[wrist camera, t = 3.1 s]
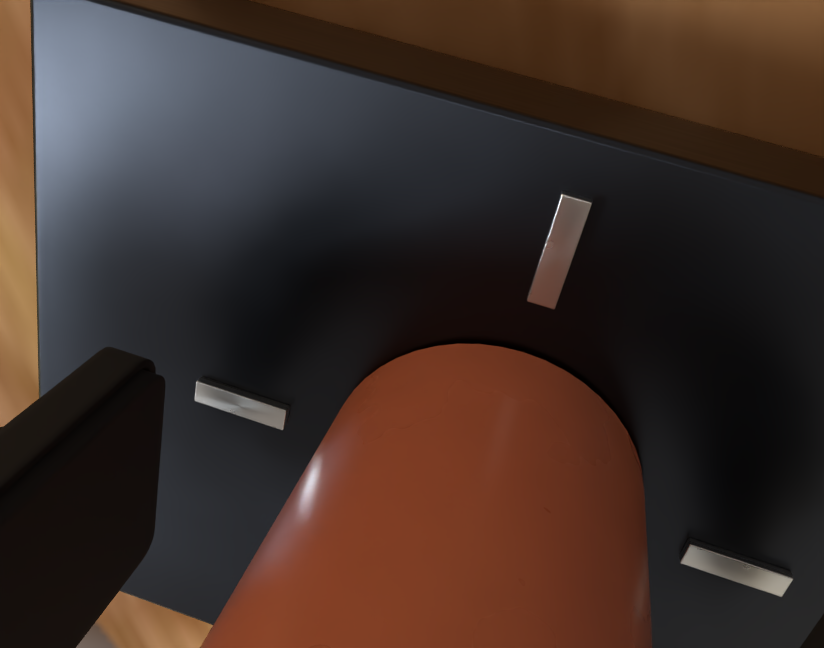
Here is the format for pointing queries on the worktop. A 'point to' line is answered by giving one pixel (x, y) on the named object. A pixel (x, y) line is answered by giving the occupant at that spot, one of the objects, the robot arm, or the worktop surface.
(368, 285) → the black dial base plate
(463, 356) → the dial knob
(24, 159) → the worktop surface
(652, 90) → the worktop surface
